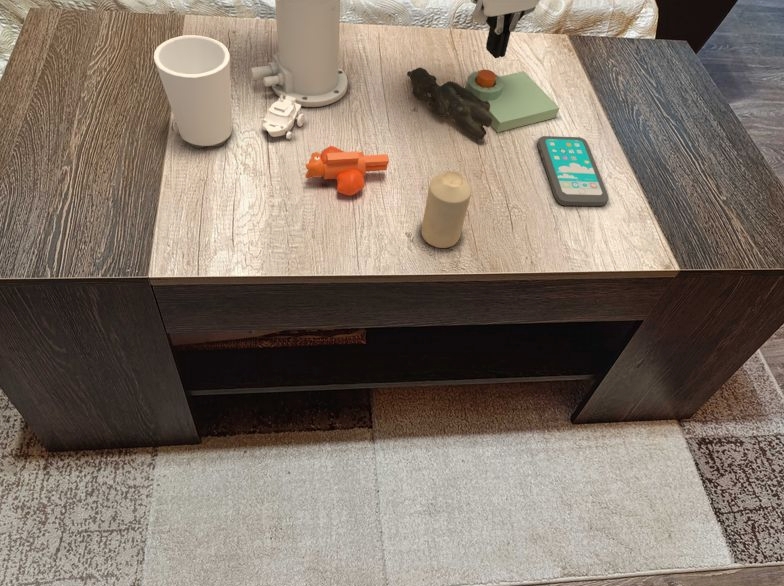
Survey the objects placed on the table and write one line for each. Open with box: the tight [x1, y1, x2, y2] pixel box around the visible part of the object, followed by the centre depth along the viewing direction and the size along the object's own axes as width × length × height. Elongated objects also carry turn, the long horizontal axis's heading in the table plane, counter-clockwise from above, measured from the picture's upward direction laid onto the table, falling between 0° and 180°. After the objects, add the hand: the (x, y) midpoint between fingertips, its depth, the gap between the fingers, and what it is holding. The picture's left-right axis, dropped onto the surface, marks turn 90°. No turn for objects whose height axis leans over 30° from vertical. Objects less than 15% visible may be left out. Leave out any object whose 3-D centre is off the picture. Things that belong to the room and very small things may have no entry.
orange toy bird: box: [304, 145, 390, 197], centre depth 89 cm, size 5×8×12 cm
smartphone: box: [537, 135, 609, 207], centre depth 97 cm, size 9×1×15 cm
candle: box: [421, 170, 473, 249], centre depth 83 cm, size 6×6×10 cm
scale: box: [464, 70, 560, 133], centre depth 104 cm, size 13×12×4 cm
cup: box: [153, 34, 233, 149], centre depth 88 cm, size 10×10×13 cm
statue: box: [406, 66, 492, 140], centre depth 100 cm, size 6×6×20 cm
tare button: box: [476, 69, 497, 88], centre depth 102 cm, size 3×3×2 cm
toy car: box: [261, 95, 305, 140], centre depth 94 cm, size 5×8×4 cm, turn 160°
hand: (495, 52), depth 98 cm, fingers closed
